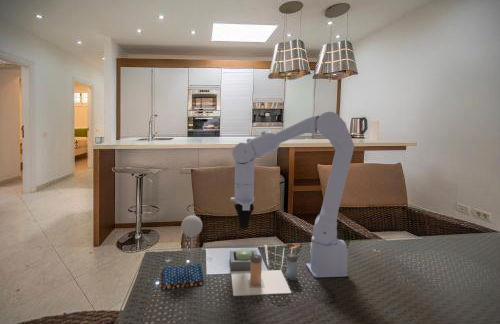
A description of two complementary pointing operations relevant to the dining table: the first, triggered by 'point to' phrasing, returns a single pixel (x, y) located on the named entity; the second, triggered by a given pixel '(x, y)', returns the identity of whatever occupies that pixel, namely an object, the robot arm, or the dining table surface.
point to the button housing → (240, 262)
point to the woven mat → (182, 276)
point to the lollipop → (191, 229)
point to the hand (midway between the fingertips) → (243, 228)
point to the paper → (269, 283)
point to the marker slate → (291, 266)
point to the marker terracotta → (255, 270)
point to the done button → (243, 254)
